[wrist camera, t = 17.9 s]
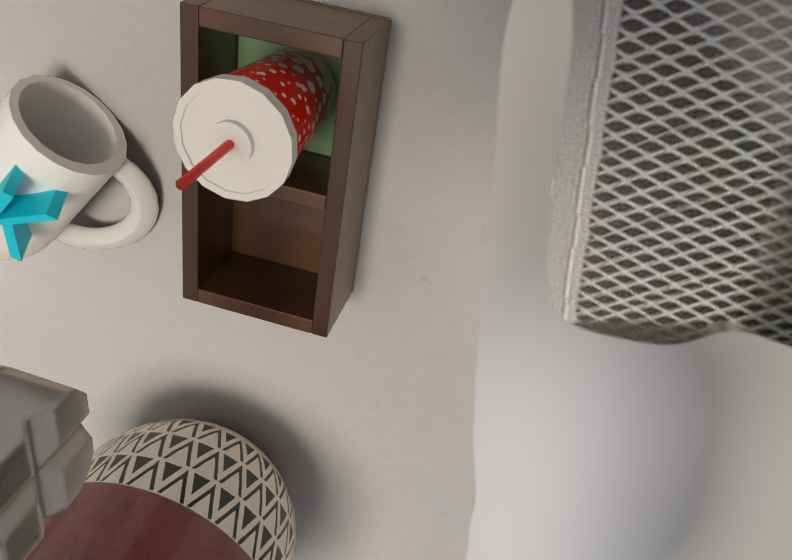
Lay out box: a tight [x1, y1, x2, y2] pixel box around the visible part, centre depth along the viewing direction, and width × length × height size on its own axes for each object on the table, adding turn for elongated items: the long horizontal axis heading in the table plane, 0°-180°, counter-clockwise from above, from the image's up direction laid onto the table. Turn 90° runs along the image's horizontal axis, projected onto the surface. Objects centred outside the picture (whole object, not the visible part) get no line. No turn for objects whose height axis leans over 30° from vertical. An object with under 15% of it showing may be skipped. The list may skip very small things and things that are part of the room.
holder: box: [180, 0, 391, 337], centre depth 43 cm, size 10×18×6 cm, turn 171°
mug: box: [0, 75, 159, 261], centre depth 48 cm, size 12×9×12 cm
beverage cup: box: [172, 47, 336, 202], centre depth 37 cm, size 6×6×14 cm
